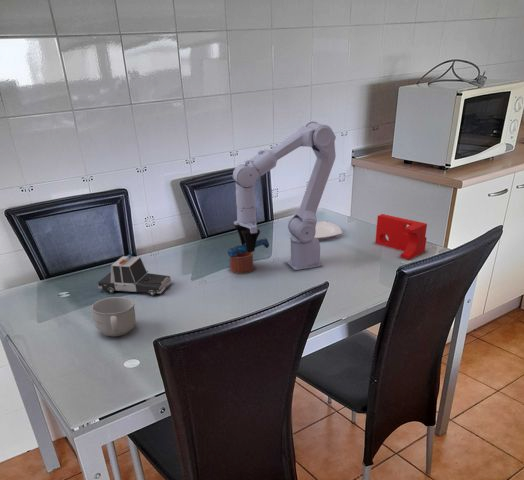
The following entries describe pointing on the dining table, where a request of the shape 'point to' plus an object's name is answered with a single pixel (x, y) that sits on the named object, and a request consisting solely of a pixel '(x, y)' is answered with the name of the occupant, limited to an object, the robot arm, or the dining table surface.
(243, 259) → the cup
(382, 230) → the bracket
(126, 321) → the teacup
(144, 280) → the toy car
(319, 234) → the plate
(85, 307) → the dining table surface
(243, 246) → the figurine
